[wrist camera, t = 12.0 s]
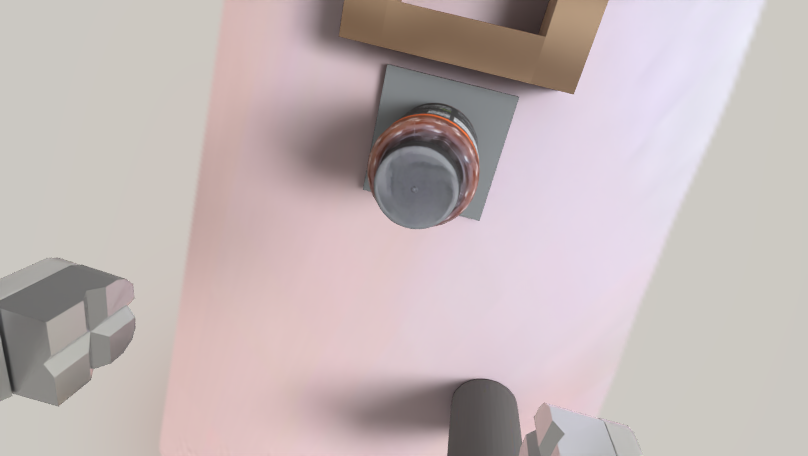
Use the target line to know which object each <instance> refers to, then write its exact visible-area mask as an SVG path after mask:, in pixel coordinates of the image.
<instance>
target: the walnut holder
mask: <svg viewBox="0 0 808 456" xmlns="http://www.w3.org/2000/svg"><path fill="white" fill-rule="evenodd" d="M401 1H402V0H344V5H343V11H342V18H341V25H340V32H339V37H343V38H347V39H351V40H355V41H359V42H363V43H368V44H372V45H376V46H380V47H384V48H388V49H392V50H396V51H400V52H404V53H408V54H412V55H416V56H420V57H424V58H428V59H432V60H436V61H440V62H444V63H449V64H453V65H457V66H461V67H465V68H469V69H473V70H477V71H481V72H485V73H489V74H493V75H497V76H501V77H505V78H509V79H513V80H517V81H521V82H526V83H530V84H534V85H538V86H542V87H546V88H550V89H554V90H558V91H562V92H566V93H570V94H574V92H575V89H576V87H577V84H578V81H579V79H580V76H581V73H582V71H583V68H584V65H585V62H586V60H587V57H588V54H589V52H590V49H591V46H592V44H593V41H594V38H595V35H596V33H597V30H598V27H599V25H600V22H601V19H602V17H603V14H604V11H605V9H606V6H607V3H608V0H549V2H548V6H547V9H546V12H545V15H544V18H543V21H542V24H541V27H540V31H539V34H538V35H536V34H532V33H528V32H524V31H519V30H515V29H511V28H507V27H503V26H499V25H494V24H490V23H486V22H482V21H478V20H473V19H469V18H465V17H461V16H457V15H453V14H448V13H444V12H440V11H436V10H432V9H427V8H423V7H419V6H415V5H411V4H406V3H402V2H401Z"/></svg>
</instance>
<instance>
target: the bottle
mask: <svg viewBox="0 0 808 456" xmlns="http://www.w3.org/2000/svg"><path fill="white" fill-rule="evenodd" d="M521 445H522V439H521V430H520V422H519V414H518V408H517V402H516V399H515V397H514V395H513V394H512V393H511V391H510V390H509V389H508V388H506V387H505V386H503V385H502V384H500V383H498V382H495V381H492V380H485V379H478V380H472V381H469V382H466V383H465V384H463V385H461V386H460V387H459V388H458V389H457V390H456V392H455V393H454V395H453V399H452V405H451V415H450V428H449V441H448V454H447V456H519V452H520V447H521Z"/></svg>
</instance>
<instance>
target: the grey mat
mask: <svg viewBox="0 0 808 456" xmlns="http://www.w3.org/2000/svg"><path fill="white" fill-rule="evenodd" d="M518 99H519V97H518V96H514V95H510V94H506V93H502V92H498V91H494V90H490V89H486V88H482V87H478V86H474V85H470V84H466V83H462V82H458V81H454V80H450V79H446V78H442V77H438V76H434V75H430V74H426V73H422V72H418V71H414V70H410V69H406V68H402V67H398V66H394V65H390V64H387V69H386V74H385V79H384V84H383V89H382V94H381V100H380V105H379V110H378V115H377V120H376V125H375V130H374V135H373V141H372V146H371V150H372V148H373V146H374V144H375V142H376V141H377V139H378V138H379V136H380V135H381V134H382V133H383V132H384V131H385V130H386V129H387V128H389V127H390V126H391V125H392V124H393V123H394V122H396V121H397V120H398V119H400V118H401V117H402V116H404V115H405V114H406V113H407V112H409V111H410V110H412V109H413V108H415V107H417V106H420V105H423V104H427V103H442V104H446V105H449V106H452V107H454V108H456V109H458V110H459V111H461V112H462V113H463V114H464V115H465V116H466V117H467V118H468V119H469V121H470V122H471V124H472V126H473V128H474V130H475V133H476V136H477V141H478V155H479V181H478V186H477V189H476V192H475V195H474V197H473V199H472V200H471V202H470V203H469V205H468V206H467V208H466V209H465V210H464V211H463V212H462V213H461V214H460V215H459V216H463V217H467V218H471V219H474V220H478V221H479V220H480V217H481V214H482V211H483V208H484V205H485V202H486V199H487V196H488V192H489V189H490V186H491V183H492V180H493V177H494V174H495V171H496V168H497V164H498V161H499V158H500V155H501V152H502V149H503V146H504V143H505V140H506V137H507V133H508V130H509V127H510V124H511V121H512V118H513V115H514V112H515V109H516V105H517V102H518ZM370 153H371V151H370ZM363 190H367V191H371V189H370V186H369V183H368V175H367V171H366V176H365V182H364V187H363Z"/></svg>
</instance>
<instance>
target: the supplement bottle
mask: <svg viewBox="0 0 808 456" xmlns="http://www.w3.org/2000/svg"><path fill="white" fill-rule="evenodd" d="M367 175H368V183H369V186H370V189H371V192H372V194H373V197H374V198H375V200H376V201H377V203H378V205H379V207H380V209H381V210H382V212H383V213H384V214H385V215H386V216H387V217H388V218H389V219H390V220H391V221H393V222H394V223H396V224H398V225H400V226H403V227H406V228H410V229H425V228H429V227H433V226H438V225H442V224H445V223H447V222H449V221H451V220H453V219H454V218H456V217H457V216H459V215H460V214H461V213H462V212H463V211H464V210H465V209H466V208H467V206H468V205H469V203H470V202H471V200H472V199H473V197H474V195H475V192H476V189H477V186H478V181H479V155H478V141H477V136H476V133H475V130H474V128H473V126H472V124H471V122H470V121H469V119H468V118H467V117H466V116H465V115H464V114H463V113H462V112H461V111H459V110H458V109H456V108H454V107H452V106H449V105H446V104H442V103H427V104H423V105H420V106H417V107H415V108H413V109H412V110H410V111H409V112H407V113H406V114H405V115H404V116H402V117H401V118H400V119H398V120H397V121H396V122H394V123H393V124H392V125H391V126H390V127H389V128H387V129H386V130H385V131H384V132H383V133H382V134H381V135H380V136H379V138H378V139H377V141H376V142H375V144H374V146H373V148H372V150H371V153H370V156H369V160H368V165H367Z"/></svg>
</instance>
